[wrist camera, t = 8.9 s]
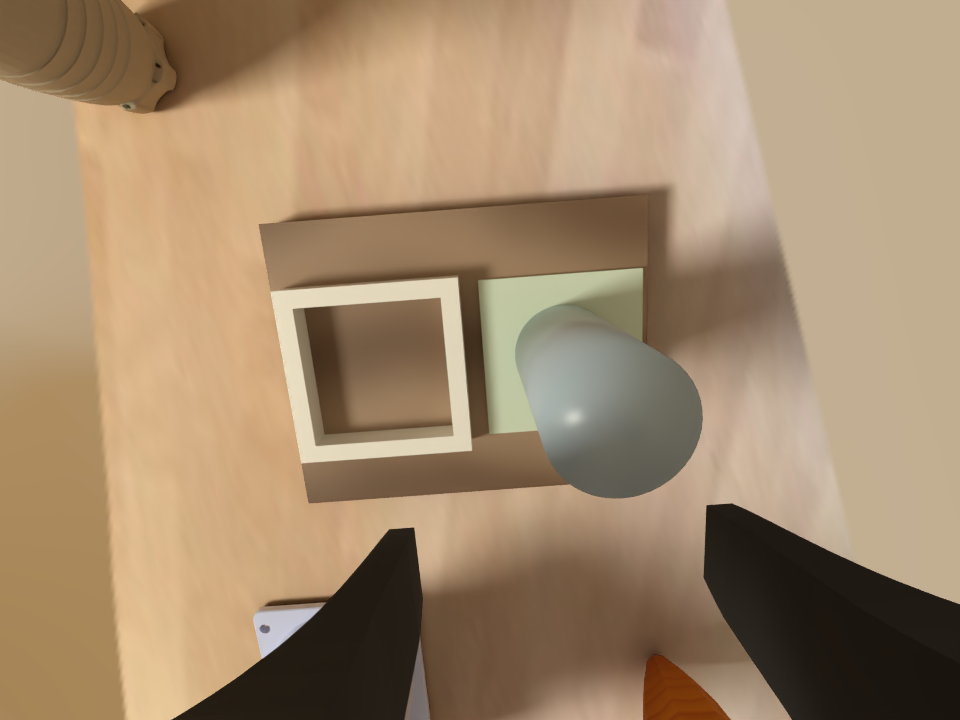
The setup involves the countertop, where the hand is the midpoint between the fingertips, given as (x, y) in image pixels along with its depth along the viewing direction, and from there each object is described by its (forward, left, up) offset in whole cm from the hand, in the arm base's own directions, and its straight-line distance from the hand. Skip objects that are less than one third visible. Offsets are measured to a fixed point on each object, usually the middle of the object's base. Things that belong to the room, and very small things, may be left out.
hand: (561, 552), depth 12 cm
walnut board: (+3, +2, -10) cm, 11 cm away
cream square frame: (+3, +6, -9) cm, 11 cm away
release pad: (+3, -2, -9) cm, 10 cm away
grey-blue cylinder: (+3, -2, -9) cm, 9 cm away
